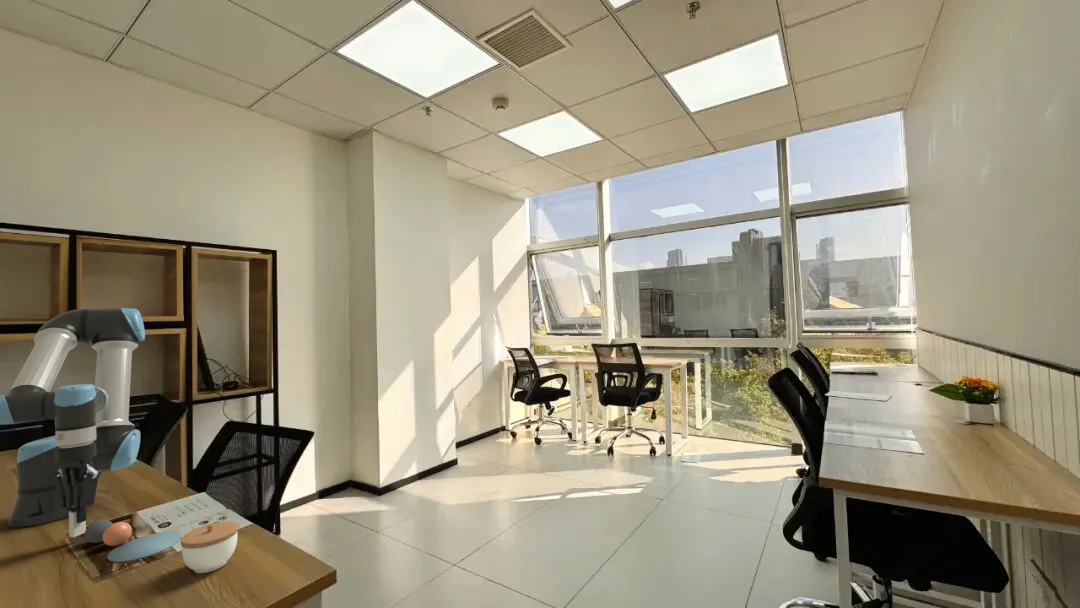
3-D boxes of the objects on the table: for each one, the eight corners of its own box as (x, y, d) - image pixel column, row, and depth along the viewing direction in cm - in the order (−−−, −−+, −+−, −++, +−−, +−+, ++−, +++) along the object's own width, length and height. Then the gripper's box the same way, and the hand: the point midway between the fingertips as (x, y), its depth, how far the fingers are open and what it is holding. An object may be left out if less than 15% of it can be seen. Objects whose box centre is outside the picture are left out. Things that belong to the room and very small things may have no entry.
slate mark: (92, 557, 110) (92, 556, 110) (156, 530, 123) (156, 529, 123) (132, 565, 106) (132, 564, 106) (193, 536, 119) (193, 535, 119)
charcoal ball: (99, 522, 116) (100, 544, 115) (118, 514, 121) (120, 535, 120) (77, 526, 115) (78, 548, 115) (98, 518, 121) (99, 539, 120)
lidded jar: (201, 555, 109) (200, 516, 109) (248, 551, 110) (247, 512, 110) (169, 581, 98) (168, 538, 99) (221, 577, 99) (220, 534, 99)
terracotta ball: (94, 542, 114) (101, 523, 114) (119, 532, 119) (126, 514, 119) (107, 554, 113) (114, 535, 112) (132, 544, 118) (139, 525, 118)
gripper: (38, 448, 116) (40, 540, 115) (78, 448, 114) (80, 543, 113) (73, 439, 123) (75, 526, 123) (112, 440, 121) (113, 528, 120)
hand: (77, 534), depth 118 cm, fingers closed
